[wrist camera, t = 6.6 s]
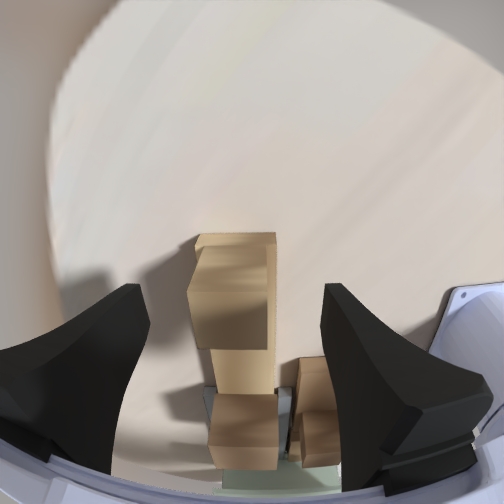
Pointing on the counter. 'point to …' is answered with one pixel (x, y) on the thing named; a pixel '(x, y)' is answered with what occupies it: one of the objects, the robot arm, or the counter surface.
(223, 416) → the cube
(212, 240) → the tan stepped wooden piece
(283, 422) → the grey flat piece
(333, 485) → the shelter
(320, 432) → the block brown
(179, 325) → the counter surface
